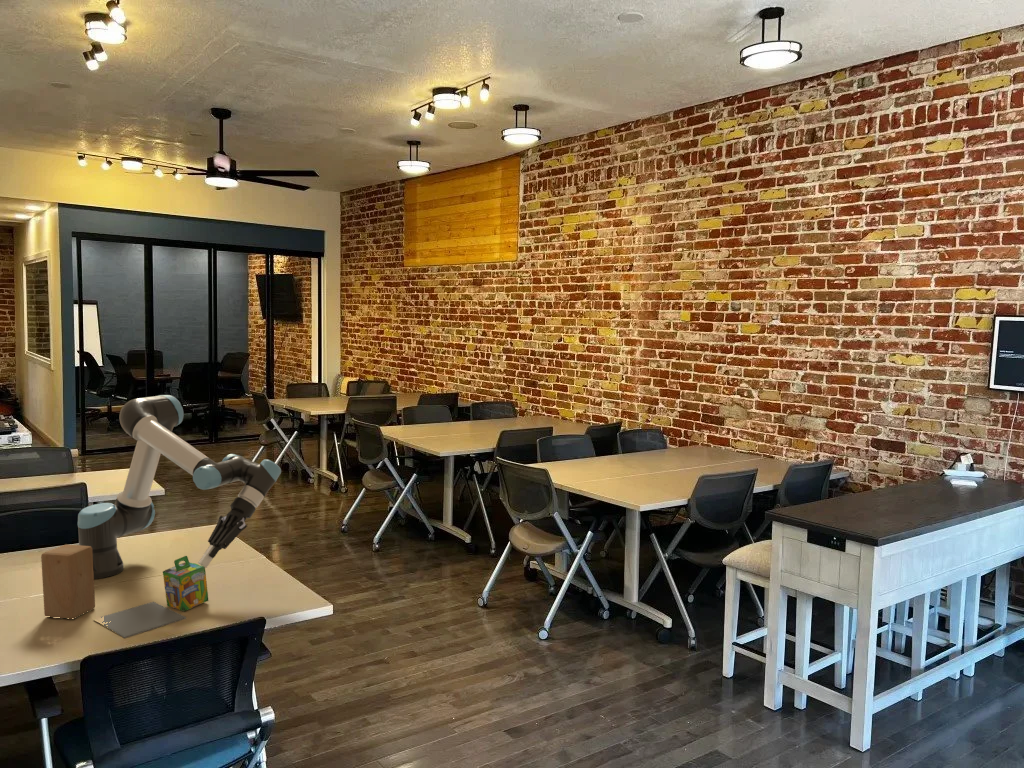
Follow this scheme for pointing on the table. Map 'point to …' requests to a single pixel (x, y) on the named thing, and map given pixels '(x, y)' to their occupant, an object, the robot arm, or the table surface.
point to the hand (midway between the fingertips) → (202, 565)
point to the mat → (141, 619)
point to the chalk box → (185, 585)
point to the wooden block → (68, 581)
